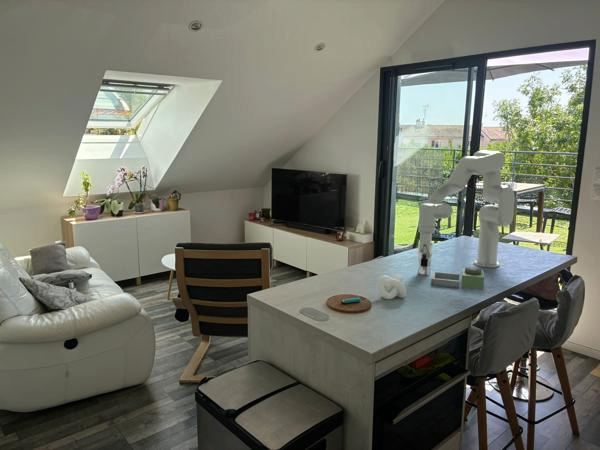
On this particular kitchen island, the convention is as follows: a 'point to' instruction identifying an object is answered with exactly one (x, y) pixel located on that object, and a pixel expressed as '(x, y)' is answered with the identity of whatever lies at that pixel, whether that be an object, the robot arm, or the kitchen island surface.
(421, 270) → the beer glass
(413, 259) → the kitchen island surface
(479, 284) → the push button box
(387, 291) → the white knot sculpture
